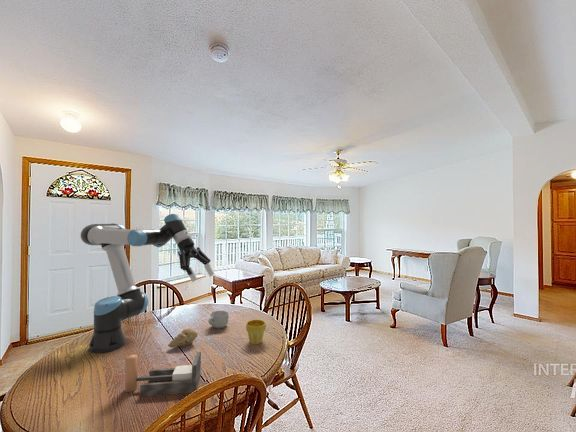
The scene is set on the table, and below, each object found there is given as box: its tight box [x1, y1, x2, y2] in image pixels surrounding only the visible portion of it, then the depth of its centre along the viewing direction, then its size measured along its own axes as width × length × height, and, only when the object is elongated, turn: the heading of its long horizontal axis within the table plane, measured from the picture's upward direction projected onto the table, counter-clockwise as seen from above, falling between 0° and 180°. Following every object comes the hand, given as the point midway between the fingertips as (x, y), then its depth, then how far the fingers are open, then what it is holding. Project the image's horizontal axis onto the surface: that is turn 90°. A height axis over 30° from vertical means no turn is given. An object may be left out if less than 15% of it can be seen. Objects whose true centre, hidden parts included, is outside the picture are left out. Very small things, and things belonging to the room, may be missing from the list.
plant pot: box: [245, 319, 267, 345], centre depth 147 cm, size 10×10×10 cm
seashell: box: [167, 328, 199, 348], centre depth 141 cm, size 14×8×8 cm, turn 141°
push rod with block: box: [124, 354, 192, 393], centre depth 107 cm, size 24×6×12 cm, turn 98°
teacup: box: [208, 310, 230, 329], centre depth 166 cm, size 14×11×8 cm
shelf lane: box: [139, 351, 202, 397], centre depth 108 cm, size 20×10×10 cm, turn 98°
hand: (204, 277), depth 136 cm, fingers open, 13 cm apart
